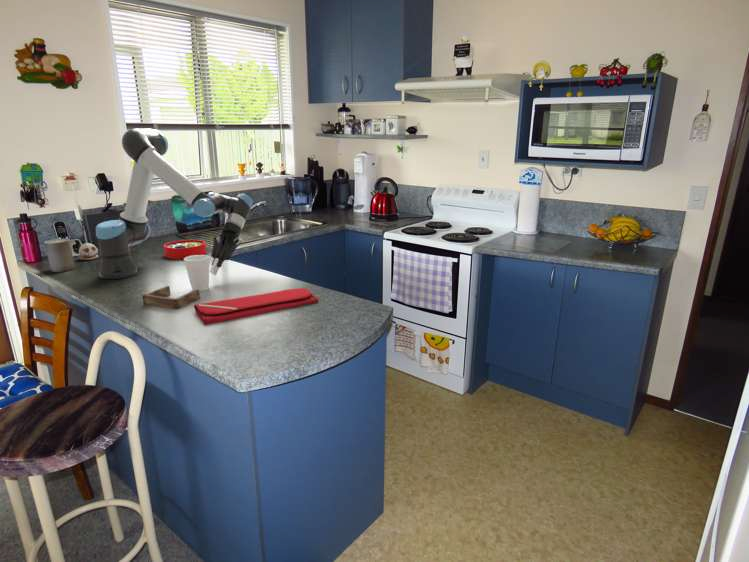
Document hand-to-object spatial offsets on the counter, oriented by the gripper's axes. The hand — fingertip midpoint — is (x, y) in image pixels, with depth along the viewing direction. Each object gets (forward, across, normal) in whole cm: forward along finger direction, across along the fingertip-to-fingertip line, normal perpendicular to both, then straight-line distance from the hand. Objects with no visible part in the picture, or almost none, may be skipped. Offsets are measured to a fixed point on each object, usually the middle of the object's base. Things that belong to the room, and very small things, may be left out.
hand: (212, 273), depth 198 cm
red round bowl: (-23, +47, -30) cm, 60 cm away
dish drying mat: (+16, -33, +9) cm, 38 cm away
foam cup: (+9, 0, +2) cm, 9 cm away
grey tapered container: (+7, +82, 0) cm, 82 cm away
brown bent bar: (+19, 0, +13) cm, 23 cm away
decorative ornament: (-7, +87, -14) cm, 88 cm away
